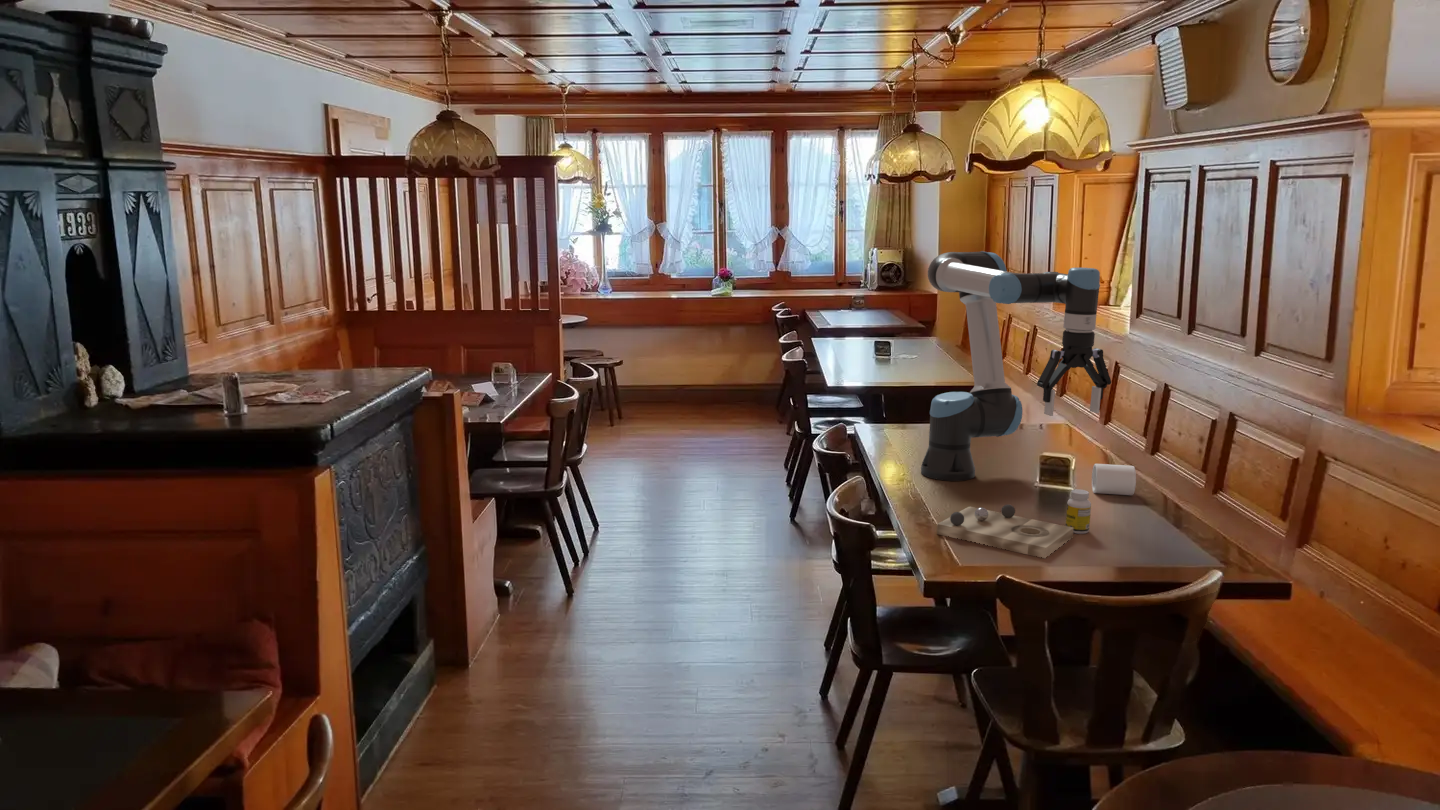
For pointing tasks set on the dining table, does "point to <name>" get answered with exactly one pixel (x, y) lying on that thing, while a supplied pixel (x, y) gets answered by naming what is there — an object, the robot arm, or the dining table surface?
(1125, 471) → the mug
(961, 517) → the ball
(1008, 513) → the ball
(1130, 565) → the dining table surface
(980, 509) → the steel ball
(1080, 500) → the supplement bottle
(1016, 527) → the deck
